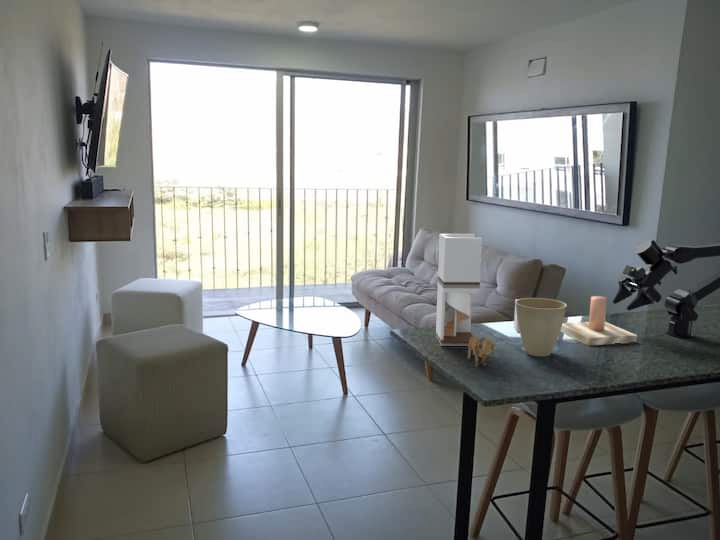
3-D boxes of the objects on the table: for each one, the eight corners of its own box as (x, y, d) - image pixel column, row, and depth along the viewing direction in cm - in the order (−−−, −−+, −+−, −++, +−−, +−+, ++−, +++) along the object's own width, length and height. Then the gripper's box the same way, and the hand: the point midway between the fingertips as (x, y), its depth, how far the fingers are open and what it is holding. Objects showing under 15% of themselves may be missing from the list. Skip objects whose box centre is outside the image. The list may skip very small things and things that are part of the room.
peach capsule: (604, 328, 199) (607, 296, 197) (603, 331, 195) (606, 299, 193) (589, 326, 201) (591, 295, 199) (587, 329, 197) (590, 298, 195)
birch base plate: (602, 327, 209) (603, 321, 208) (636, 342, 192) (636, 335, 191) (557, 330, 205) (558, 323, 205) (587, 345, 188) (588, 338, 187)
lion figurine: (497, 369, 165) (499, 338, 163) (481, 371, 163) (482, 340, 162) (472, 353, 179) (474, 325, 177) (457, 354, 177) (458, 326, 176)
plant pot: (561, 348, 185) (565, 299, 182) (564, 363, 171) (568, 310, 168) (512, 343, 189) (515, 296, 186) (512, 358, 175) (515, 306, 172)
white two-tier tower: (441, 347, 184) (445, 237, 178) (435, 337, 195) (439, 233, 189) (476, 347, 185) (482, 238, 178) (469, 337, 195) (474, 234, 189)
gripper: (625, 253, 204) (592, 284, 205) (655, 262, 185) (619, 296, 186) (644, 275, 206) (612, 305, 207) (676, 286, 187) (640, 319, 188)
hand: (620, 306), depth 197 cm, fingers open, 9 cm apart
